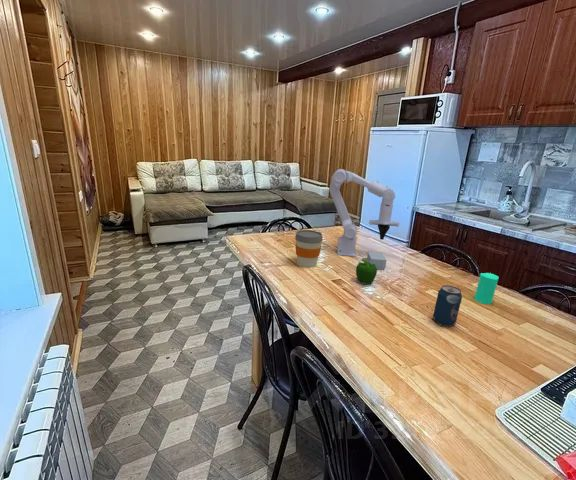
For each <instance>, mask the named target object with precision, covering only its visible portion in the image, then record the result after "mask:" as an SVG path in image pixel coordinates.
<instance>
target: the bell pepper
mask: <svg viewBox="0 0 576 480" xmlns="http://www.w3.org/2000/svg"><path fill="white" fill-rule="evenodd" d="M360 260H361V261H360V262H358V263H357V265H356V267H355V276H356V280H357V282H358V283H363V284H364V285H372V283H373V282H374V281H375V279H376V276H377V273H378V270H377V268H376V265H375V264H371V263H369V262H368V261H367V260H366V259H360ZM364 261H365V263H364Z"/></svg>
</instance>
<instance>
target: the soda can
mask: <svg viewBox="0 0 576 480" xmlns="http://www.w3.org/2000/svg"><path fill="white" fill-rule="evenodd" d="M462 299H463V294H462V290H461V289H460V288H458V287H456V286H453V285H449V284H448V285H445V284H444V285H442V286H441V288H439V290H438V292H437V297H436V301H435V305H434V309H433V315H432V317H433V319H434V322H435V323H437V324H439V325H441V326H444V327H452V326H454V325H455V324H456V323H457V320H458V315H459V312H460V308H461V303H462Z"/></svg>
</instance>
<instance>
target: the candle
mask: <svg viewBox="0 0 576 480" xmlns="http://www.w3.org/2000/svg"><path fill="white" fill-rule="evenodd" d="M498 282H499V276H498V275H496V274H494V273H491V271H490V272H484V273H482V272H480V275H479V280H478V283H477V286H476V291H475V294H474V300H475V301H476V302H477V303H480V304H483V305H492V304H493V299H494V296H495V292H496V289H497V285H498ZM491 303H492V304H491Z"/></svg>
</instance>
